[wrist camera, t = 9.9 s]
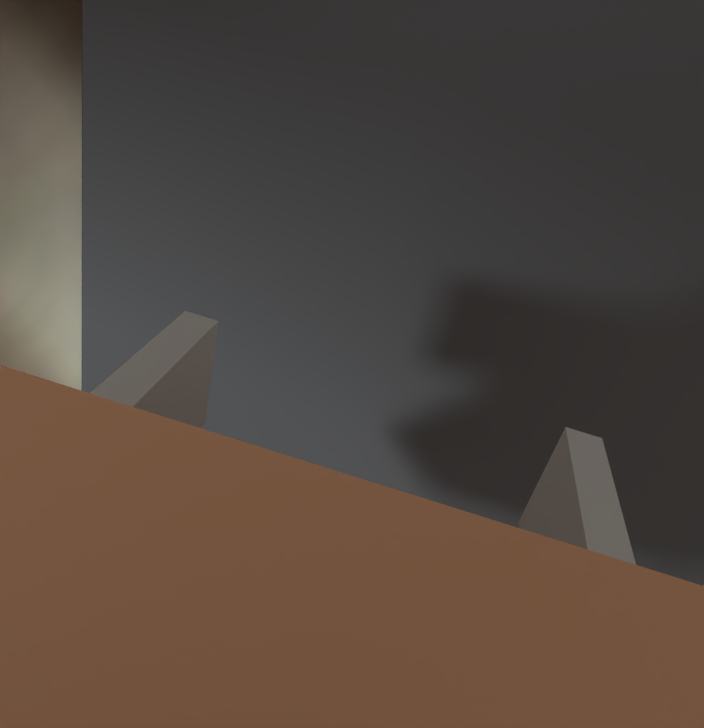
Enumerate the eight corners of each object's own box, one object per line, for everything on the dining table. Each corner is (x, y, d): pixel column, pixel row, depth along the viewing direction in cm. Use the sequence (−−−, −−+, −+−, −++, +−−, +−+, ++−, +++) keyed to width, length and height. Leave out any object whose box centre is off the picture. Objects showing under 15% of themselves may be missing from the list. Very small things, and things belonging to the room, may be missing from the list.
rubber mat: (88, 408, 22) (81, 414, 22) (94, -380, 12) (83, -392, 12) (683, 597, 21) (686, 607, 21) (1225, -126, 11) (1248, -132, 11)
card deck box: (169, 587, 16) (-200, 693, 5) (210, 473, 16) (-30, 356, 6) (453, 681, 15) (716, 1024, 4) (482, 559, 16) (764, 605, 5)
